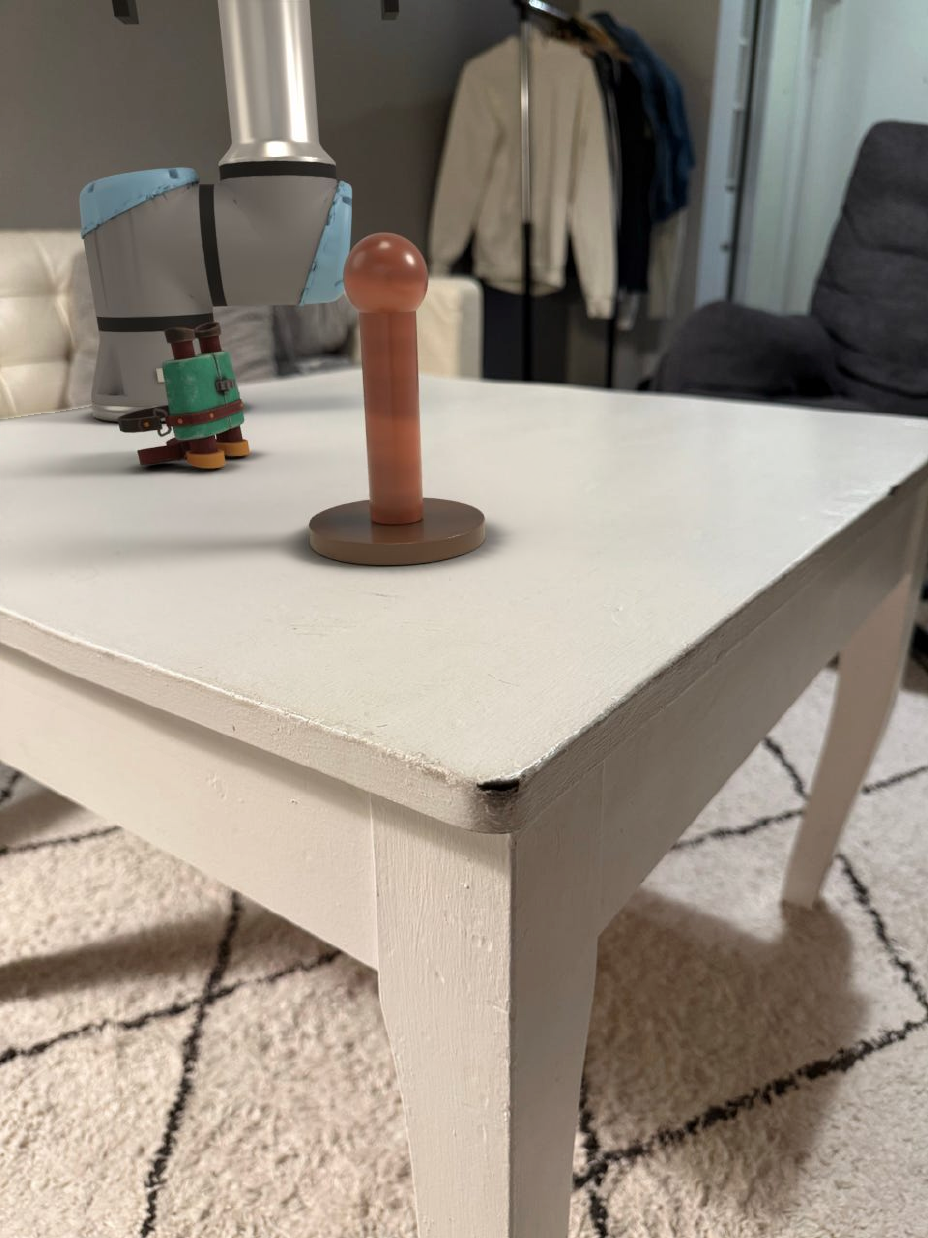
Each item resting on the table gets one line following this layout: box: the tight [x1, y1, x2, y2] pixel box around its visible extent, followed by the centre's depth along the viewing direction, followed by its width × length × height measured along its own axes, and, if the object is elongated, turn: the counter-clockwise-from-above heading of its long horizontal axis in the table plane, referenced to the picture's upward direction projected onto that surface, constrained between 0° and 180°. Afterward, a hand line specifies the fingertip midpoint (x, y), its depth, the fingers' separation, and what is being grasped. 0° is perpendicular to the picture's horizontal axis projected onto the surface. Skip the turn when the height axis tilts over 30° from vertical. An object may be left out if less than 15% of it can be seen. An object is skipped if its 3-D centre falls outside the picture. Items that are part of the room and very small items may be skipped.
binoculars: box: [117, 321, 251, 470], centre depth 72 cm, size 9×11×10 cm
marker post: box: [308, 231, 486, 566], centre depth 49 cm, size 10×10×16 cm
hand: (260, 19), depth 48 cm, fingers open, 13 cm apart
